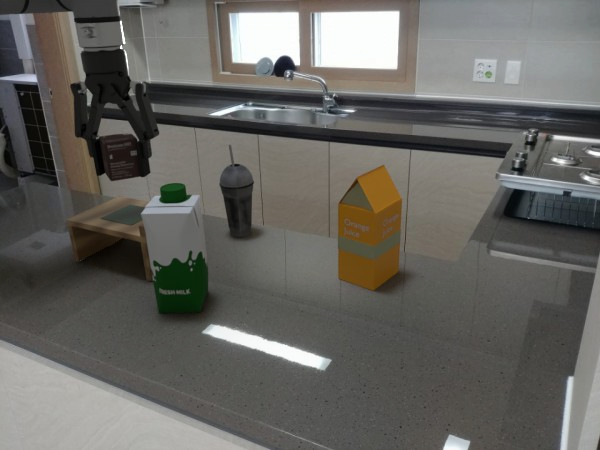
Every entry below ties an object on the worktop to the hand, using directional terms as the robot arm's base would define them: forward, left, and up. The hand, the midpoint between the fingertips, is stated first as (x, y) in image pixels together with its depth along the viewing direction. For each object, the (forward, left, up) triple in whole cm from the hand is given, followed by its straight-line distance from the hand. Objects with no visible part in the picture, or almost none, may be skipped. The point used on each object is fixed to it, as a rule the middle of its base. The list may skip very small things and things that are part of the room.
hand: (123, 174), depth 101 cm
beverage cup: (+13, +18, -17) cm, 28 cm away
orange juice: (+45, +12, -17) cm, 50 cm away
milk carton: (+20, -10, -17) cm, 28 cm away
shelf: (0, 0, -17) cm, 17 cm away
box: (0, 0, 0) cm, 0 cm away
